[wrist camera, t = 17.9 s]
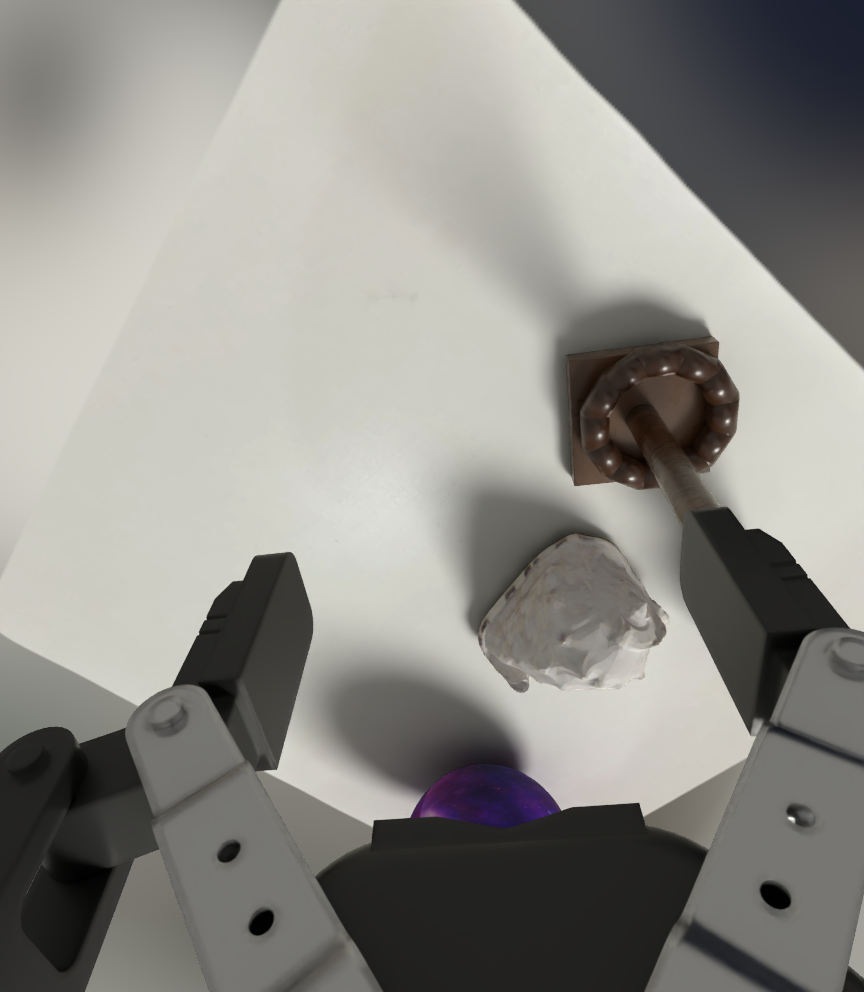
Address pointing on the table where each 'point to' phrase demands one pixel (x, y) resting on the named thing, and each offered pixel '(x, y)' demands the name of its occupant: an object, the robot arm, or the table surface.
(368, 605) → the table surface
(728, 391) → the ring
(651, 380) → the stand
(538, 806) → the decorative orb
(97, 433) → the table surface
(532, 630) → the seashell
